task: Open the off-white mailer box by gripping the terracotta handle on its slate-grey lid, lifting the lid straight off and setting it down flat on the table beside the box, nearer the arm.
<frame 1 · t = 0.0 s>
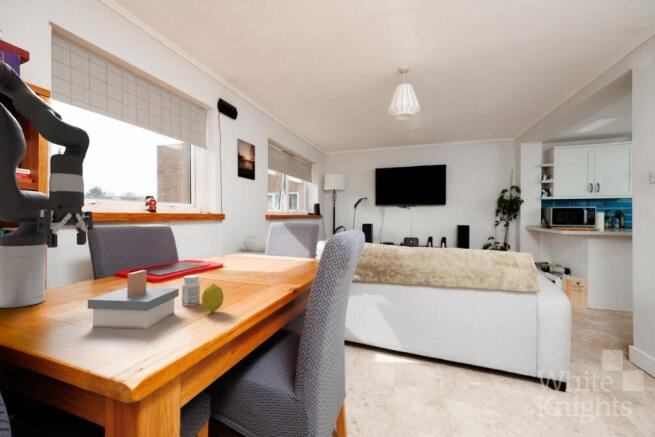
hand: (67, 246, 81), 17 cm above the table, fingers open, 8 cm apart
lid: (136, 301, 71), point 4 cm above the table, touching mailer box
lemon: (212, 313, 77), on the table
pill bottle: (190, 304, 84), on the table
mailer box: (136, 319, 70), on the table
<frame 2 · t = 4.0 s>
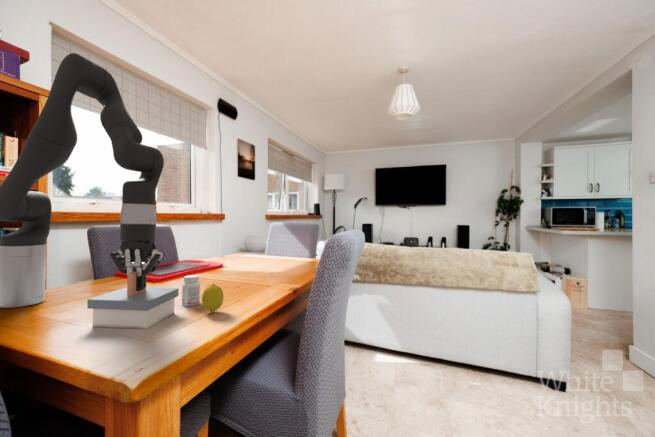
hand: (137, 290, 71), 8 cm above the table, fingers closed on lid
lid: (136, 301, 71), point 5 cm above the table, touching gripper
everything else where it was.
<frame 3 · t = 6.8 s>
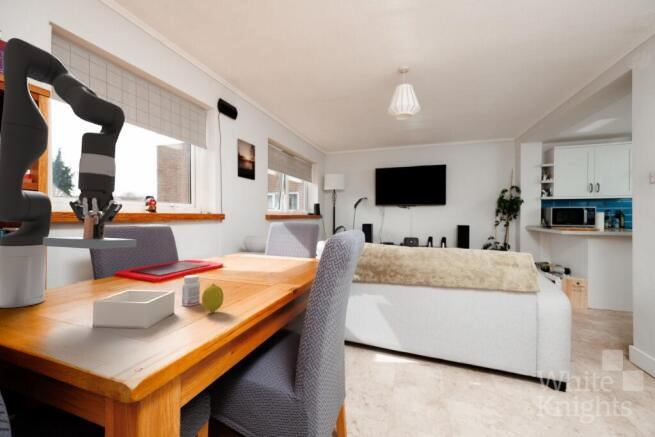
hand: (94, 238, 74), 20 cm above the table, fingers closed on lid
lid: (93, 246, 74), point 18 cm above the table, touching gripper
everything else where it was.
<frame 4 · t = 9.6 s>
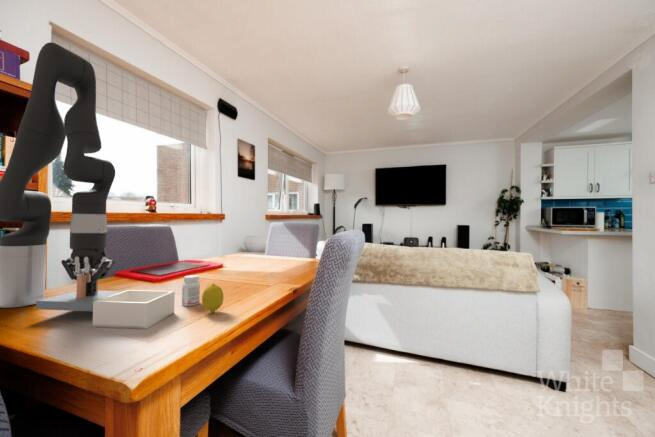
hand: (87, 295, 74), 5 cm above the table, fingers closed on lid
lid: (86, 303, 74), point 3 cm above the table, touching gripper
everything else where it was.
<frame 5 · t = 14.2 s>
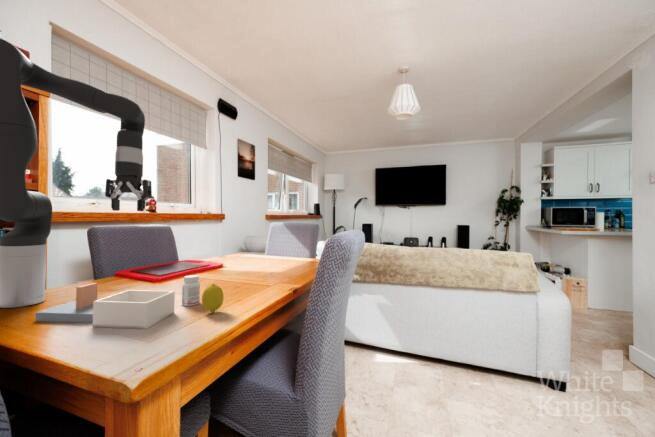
hand: (128, 210, 93), 28 cm above the table, fingers open, 8 cm apart
lid: (86, 313, 74), on the table
everything else where it was.
at the end: lid inside the target area (0.1 cm from its centre), on the table; lid tilted 0°; lid touching table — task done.
